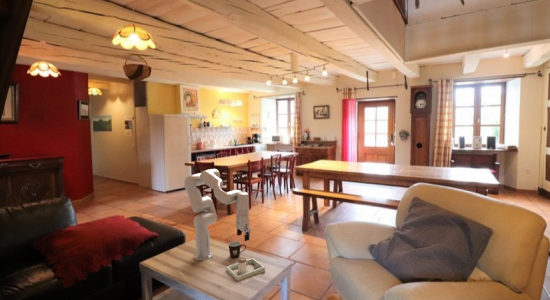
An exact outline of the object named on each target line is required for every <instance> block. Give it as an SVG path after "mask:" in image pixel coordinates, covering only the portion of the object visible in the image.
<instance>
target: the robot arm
mask: <svg viewBox="0 0 550 300" xmlns="http://www.w3.org/2000/svg"><path fill="white" fill-rule="evenodd" d="M220 177H221V173H220V171H219V170H218V169H217V168H210V169H206V170H203V171H201V172H199V173H194V174H191V175H188V176H187V177H185V179H184V181H183V184H184V188H185V191H186V193H187V195H188V199H189V202H190V203H189V204H190V206H191V209H192V211H193V213H195V214H196V213H197V215H195V216H194V218H193V221H192V222H193V226H194V230H195V232H194V233H195V248H196V249H195V250H196V251H195V252H196V254H195V255H194V260H196V261H198V262H203V261H206V260H210V259H211V258H213V253H212V252H211V241H210V240H211V237H210V231H209V228H208V226H210V225H212V224H214V223H216V222H217V219H218V215H217V211H216V208H215V204H214V201H213V199H212V198H211V197H210V196H208V195H206V196H202V193H201V190H200V189H199V188H198V186H202V185H206V186H208V187H209V188H210V189H212V190H213V195H214V196H215V199H217V201H220V203H222V204H224V205H231V204H234V203H236V216H235V228H236V236H237V237H239V236H241V235H243V233H244V240H243V241H244V242H247V241H250V234H251V230H252V229H251V227H250V216H249V215H250V207H249V206H250V205H249V204H250V203H249V201H250V200H249V197H250V196H249V193H248V192H246V191H241V190H239V189H233V190H230V191H227V192H226V191H224V190H223V189H222V187H223V185H224V181H223V179H222V178H220ZM201 212H202V213H201ZM198 213H199V214H198Z"/></svg>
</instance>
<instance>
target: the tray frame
mask: <svg viewBox="0 0 550 300" xmlns="http://www.w3.org/2000/svg"><path fill="white" fill-rule="evenodd" d="M250 264H253V265H254V266H256V265H257V266H259V267H260V268H258V269H256V270H254V269H253V270H250V271H248V272H247V271H246V273H243V274H239V275H238V274H236V272H235V271H233V270H234V269H236V268H237V269H238V262H237V263H234V264H230V265H228V266H226V269H225V270H226V272H228V273H229V275H230V276H232V277H233V279H234V280H236V281H237V282H239V281H241V280H243V279H246V278H249V277H251V276H254V275H257V274H262V273H265V272H266V267H265V266H264V265H263V264H262V263H261V262H259V261H258V260H256V259H255V258H254V257H251V258H249V259H246V265H250Z"/></svg>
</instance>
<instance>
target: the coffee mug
mask: <svg viewBox="0 0 550 300" xmlns="http://www.w3.org/2000/svg"><path fill="white" fill-rule="evenodd" d="M243 246H245V247H244V248H243V250H241V248H242V247H243ZM246 249H247V246H246V244H244V243H241V241H239V240H237V241H236V240H234V241H230V242H228V250H229V257H230V258H231V259H238V258H240V257H241V256H240V254H241V253H242V252H244V251H245V250H246Z"/></svg>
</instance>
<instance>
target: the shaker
mask: <svg viewBox="0 0 550 300" xmlns="http://www.w3.org/2000/svg"><path fill="white" fill-rule="evenodd" d="M246 260H247V258H246V257H244V256H243V257H241V256H239V257H238V258H237V263H238V267H237V273H239V275H242V274H245V273H247V264H246Z"/></svg>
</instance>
